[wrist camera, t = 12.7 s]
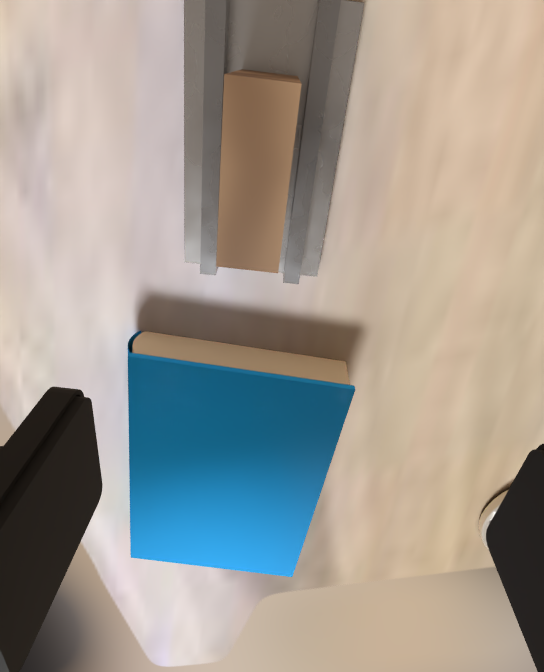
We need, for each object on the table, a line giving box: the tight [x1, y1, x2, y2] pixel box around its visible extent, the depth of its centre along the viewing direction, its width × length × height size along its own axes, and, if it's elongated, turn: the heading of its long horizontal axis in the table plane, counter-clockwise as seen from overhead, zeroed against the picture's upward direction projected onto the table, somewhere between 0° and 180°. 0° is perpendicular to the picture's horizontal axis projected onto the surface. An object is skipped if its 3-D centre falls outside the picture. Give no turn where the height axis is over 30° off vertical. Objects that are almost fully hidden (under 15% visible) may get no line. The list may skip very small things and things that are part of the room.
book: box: [128, 331, 355, 577], centre depth 40 cm, size 17×4×25 cm
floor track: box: [184, 0, 364, 284], centre depth 26 cm, size 15×9×2 cm, turn 174°
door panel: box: [216, 69, 302, 273], centre depth 23 cm, size 3×8×8 cm, turn 174°
